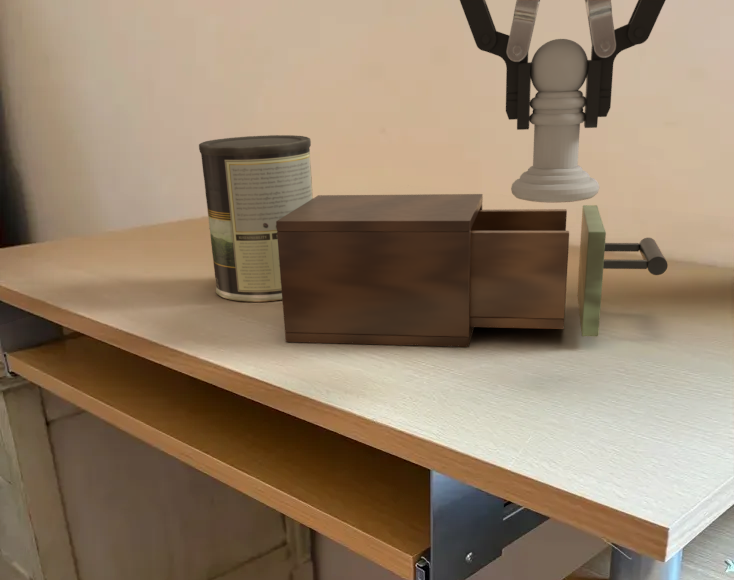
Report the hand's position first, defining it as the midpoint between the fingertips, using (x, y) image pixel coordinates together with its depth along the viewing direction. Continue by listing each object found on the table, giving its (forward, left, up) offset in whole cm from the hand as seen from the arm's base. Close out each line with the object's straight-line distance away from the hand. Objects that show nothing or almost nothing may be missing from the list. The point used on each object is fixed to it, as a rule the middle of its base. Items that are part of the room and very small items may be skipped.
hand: (557, 126), depth 50 cm
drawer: (+1, -13, -16) cm, 20 cm away
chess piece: (0, 0, -4) cm, 4 cm away
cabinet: (+13, -13, -16) cm, 25 cm away
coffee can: (+27, -23, -17) cm, 39 cm away
